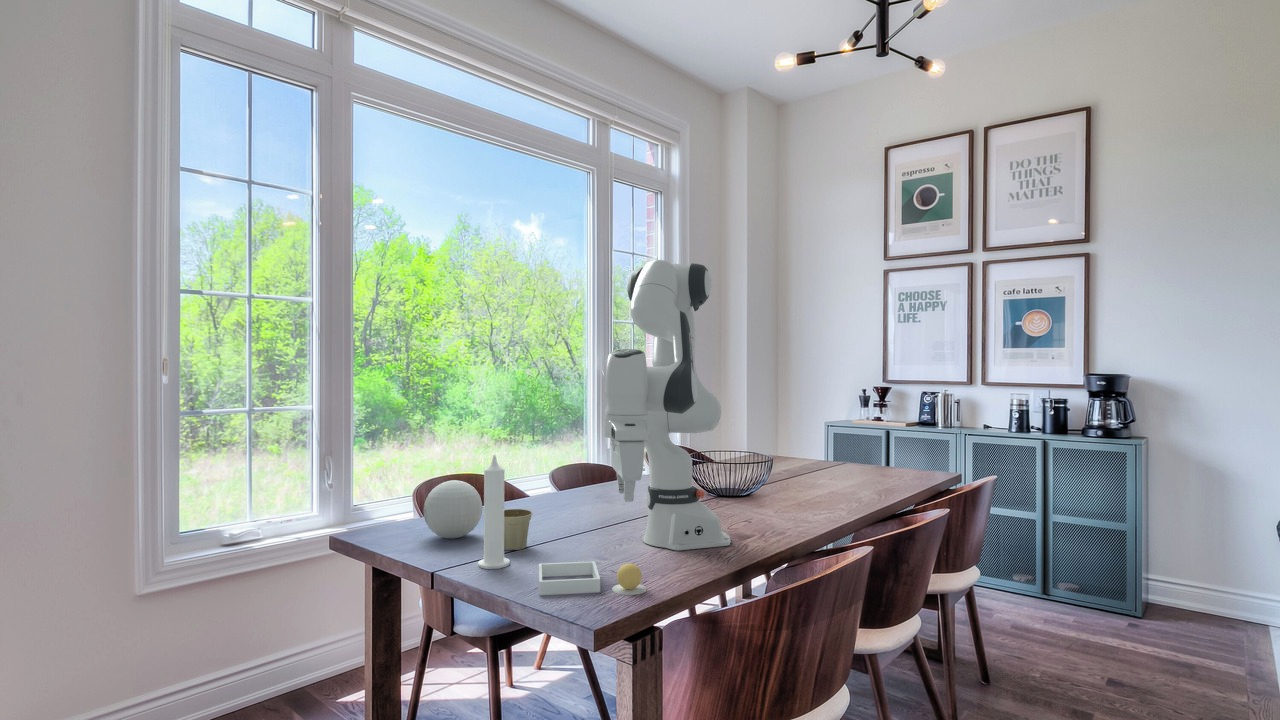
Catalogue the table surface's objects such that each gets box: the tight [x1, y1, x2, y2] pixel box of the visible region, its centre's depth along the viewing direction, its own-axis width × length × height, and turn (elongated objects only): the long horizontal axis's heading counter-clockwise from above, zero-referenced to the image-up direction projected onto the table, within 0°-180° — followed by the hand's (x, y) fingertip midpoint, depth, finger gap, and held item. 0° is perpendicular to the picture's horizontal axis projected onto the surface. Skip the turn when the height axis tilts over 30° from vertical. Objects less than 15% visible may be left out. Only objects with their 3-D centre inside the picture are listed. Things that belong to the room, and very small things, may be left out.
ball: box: [616, 563, 643, 589], centre depth 134 cm, size 5×5×5 cm
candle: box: [477, 454, 511, 570], centre depth 152 cm, size 7×7×25 cm
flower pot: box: [504, 508, 534, 551], centre depth 166 cm, size 9×9×9 cm
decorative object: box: [423, 479, 483, 539], centre depth 176 cm, size 15×15×15 cm
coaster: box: [611, 583, 647, 596], centre depth 134 cm, size 7×7×1 cm
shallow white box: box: [538, 560, 601, 596], centre depth 137 cm, size 12×12×3 cm
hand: (625, 496), depth 135 cm, fingers open, 8 cm apart
